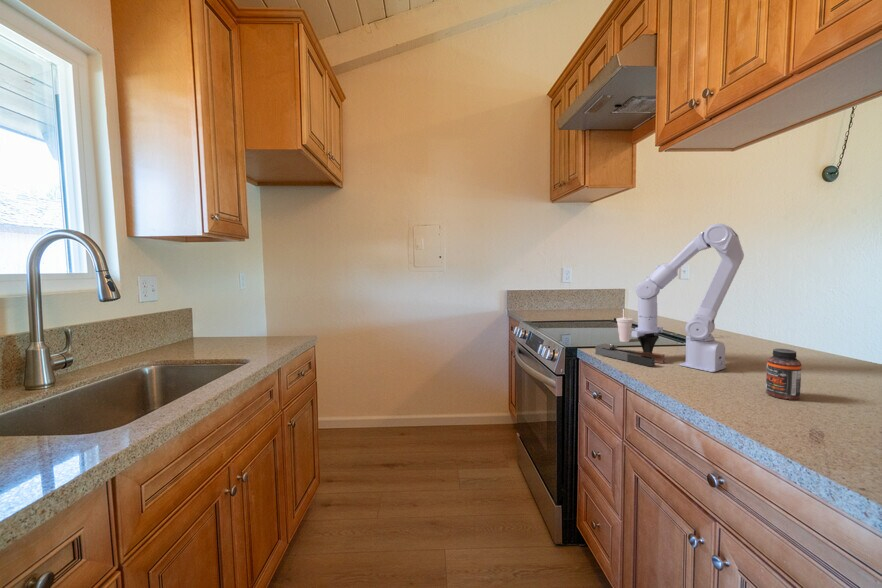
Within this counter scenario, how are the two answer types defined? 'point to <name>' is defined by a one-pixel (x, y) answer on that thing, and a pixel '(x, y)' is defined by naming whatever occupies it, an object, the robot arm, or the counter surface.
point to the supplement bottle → (783, 375)
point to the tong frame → (623, 355)
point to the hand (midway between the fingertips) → (647, 355)
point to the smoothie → (624, 328)
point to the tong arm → (645, 354)
